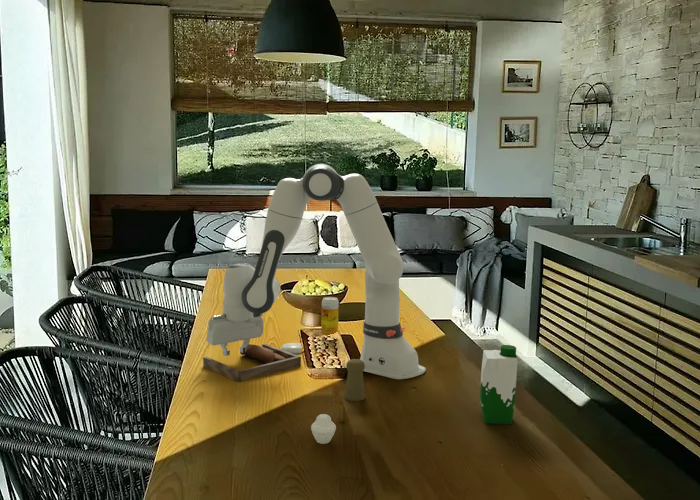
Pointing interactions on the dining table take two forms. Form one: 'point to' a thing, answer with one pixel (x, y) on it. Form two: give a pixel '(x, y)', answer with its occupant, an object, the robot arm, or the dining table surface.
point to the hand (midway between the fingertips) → (234, 353)
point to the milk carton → (498, 385)
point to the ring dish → (292, 348)
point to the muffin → (323, 429)
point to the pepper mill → (355, 380)
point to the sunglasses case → (262, 354)
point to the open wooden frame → (256, 371)
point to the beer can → (329, 315)
